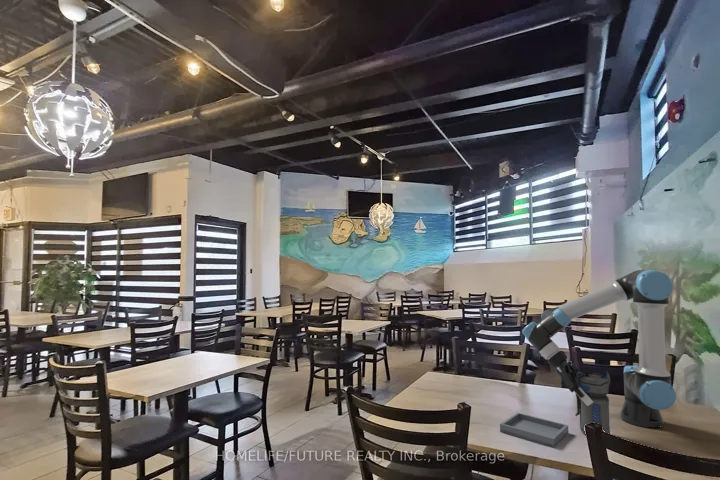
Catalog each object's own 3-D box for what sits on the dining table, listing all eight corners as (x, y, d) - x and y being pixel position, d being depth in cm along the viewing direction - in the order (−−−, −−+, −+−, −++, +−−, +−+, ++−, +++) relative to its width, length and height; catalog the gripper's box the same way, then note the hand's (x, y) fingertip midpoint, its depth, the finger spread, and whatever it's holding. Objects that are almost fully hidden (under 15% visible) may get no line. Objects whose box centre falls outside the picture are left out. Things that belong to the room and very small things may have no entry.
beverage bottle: (571, 426, 165) (570, 364, 166) (608, 431, 160) (606, 367, 162) (575, 436, 155) (573, 370, 157) (614, 441, 150) (612, 373, 152)
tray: (568, 433, 158) (568, 425, 158) (553, 447, 145) (553, 439, 145) (517, 419, 171) (517, 412, 172) (500, 431, 158) (499, 423, 158)
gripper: (556, 356, 179) (595, 398, 168) (536, 365, 161) (578, 413, 150) (569, 345, 176) (609, 388, 165) (550, 354, 158) (594, 402, 147)
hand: (595, 400), depth 157 cm, fingers open, 13 cm apart
